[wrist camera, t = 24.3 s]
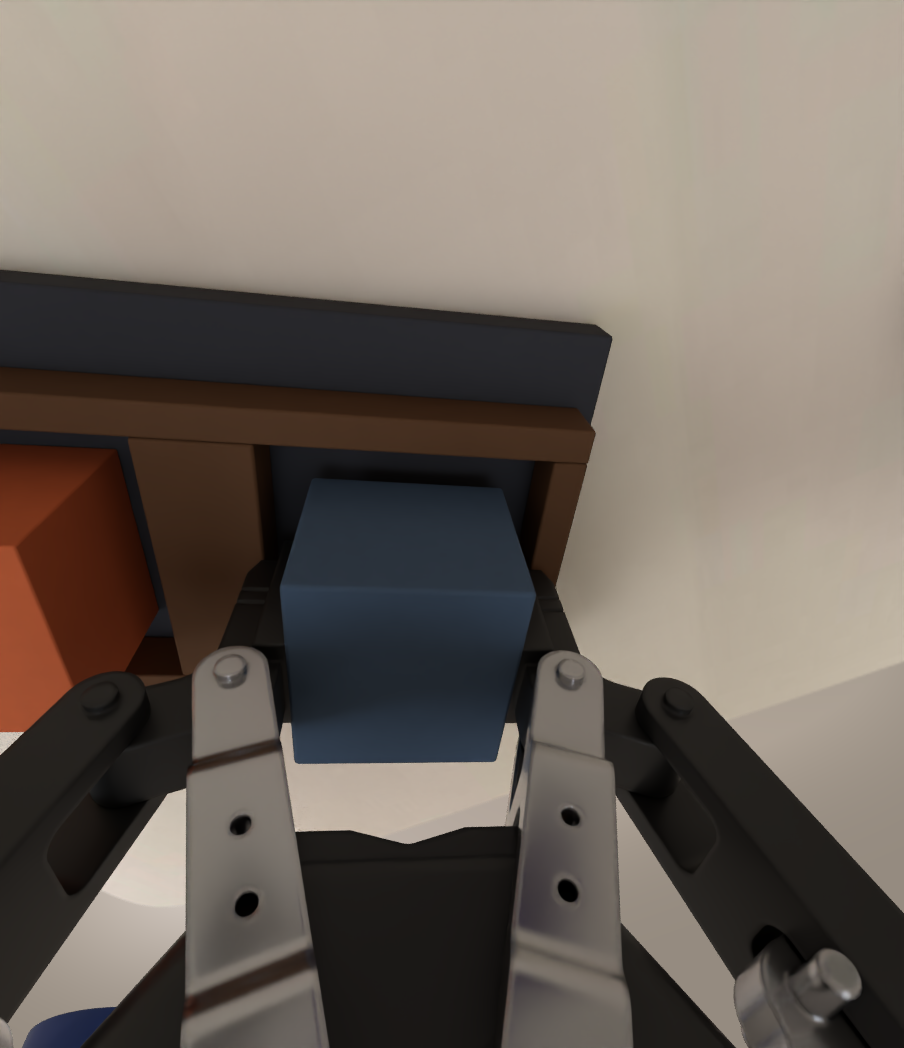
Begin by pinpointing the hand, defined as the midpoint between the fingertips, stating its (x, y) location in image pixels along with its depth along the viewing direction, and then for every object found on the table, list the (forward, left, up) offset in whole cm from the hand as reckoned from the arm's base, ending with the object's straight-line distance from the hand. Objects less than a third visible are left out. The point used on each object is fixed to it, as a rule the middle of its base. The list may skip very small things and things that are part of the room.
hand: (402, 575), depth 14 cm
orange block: (0, +9, -1) cm, 9 cm away
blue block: (0, 0, 0) cm, 0 cm away
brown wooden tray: (0, +5, -2) cm, 5 cm away
